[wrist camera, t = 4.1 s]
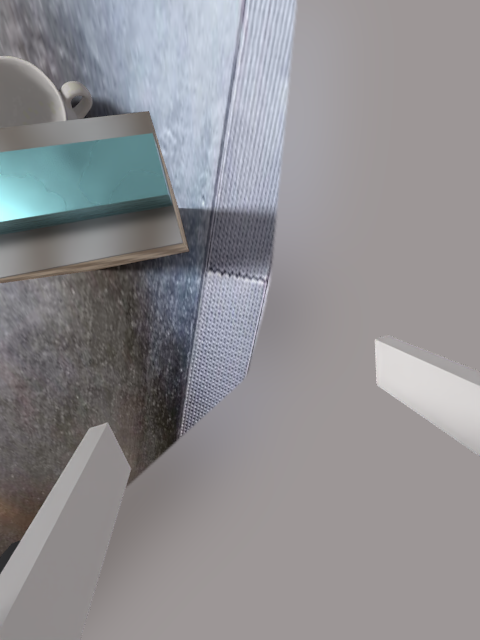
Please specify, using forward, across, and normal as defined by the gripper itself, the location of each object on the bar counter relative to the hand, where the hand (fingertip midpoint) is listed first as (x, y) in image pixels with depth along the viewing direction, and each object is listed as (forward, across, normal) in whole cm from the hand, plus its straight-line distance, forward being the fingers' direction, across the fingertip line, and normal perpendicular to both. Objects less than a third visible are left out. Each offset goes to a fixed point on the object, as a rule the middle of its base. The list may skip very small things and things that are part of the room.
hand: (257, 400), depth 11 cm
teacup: (+39, -16, +30) cm, 52 cm away
